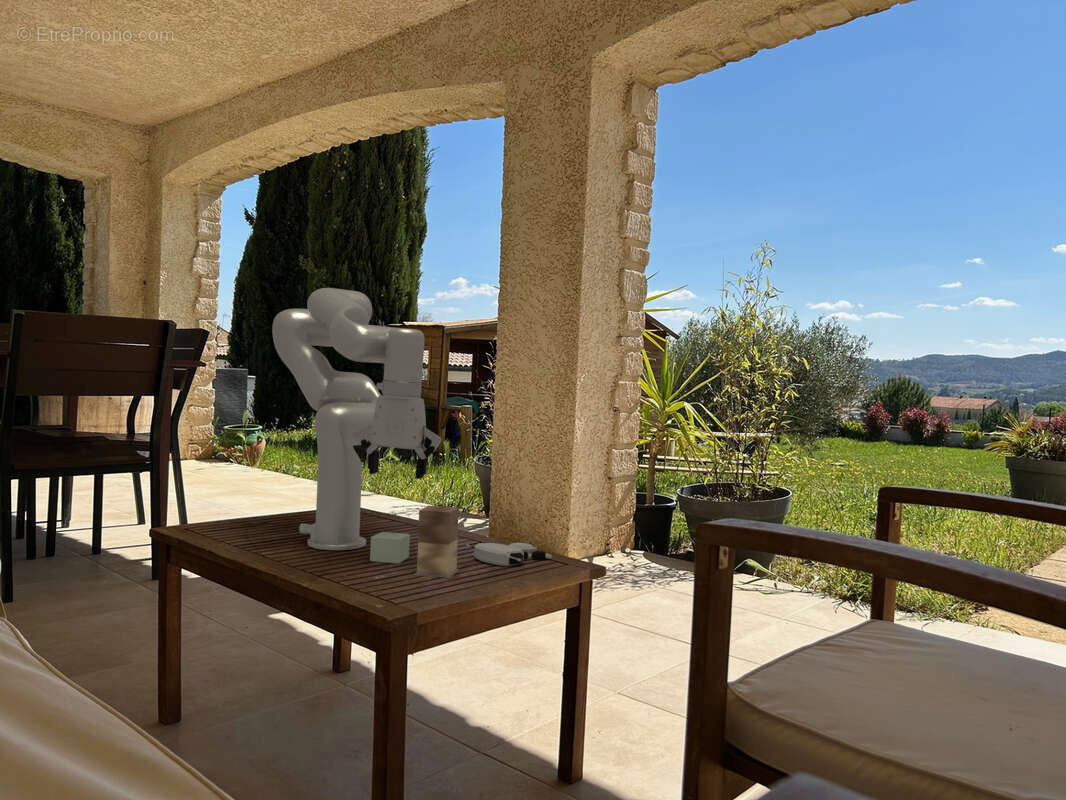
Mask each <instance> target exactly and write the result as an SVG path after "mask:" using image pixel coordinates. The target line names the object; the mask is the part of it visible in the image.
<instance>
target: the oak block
mask: <svg viewBox="0 0 1066 800" xmlns="http://www.w3.org/2000/svg"><path fill="white" fill-rule="evenodd" d="M458 543H459V540H458V538H457V539H456V540H455V541H453V542H452V543H451V544H449V545H446V544H434V543H422V542H418V541H417V558H416V559H417V561H416V562H417V563H416V572H417V574H422V575H421V576H423V575H433V576H432V577H434V576H444V577H443V578H445V577H448V576H449V575H451V574H452V573H453V572H454V571H455V570H456V569H458V567H457V565H458V563H457V562H458V545H459V544H458Z"/></svg>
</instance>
